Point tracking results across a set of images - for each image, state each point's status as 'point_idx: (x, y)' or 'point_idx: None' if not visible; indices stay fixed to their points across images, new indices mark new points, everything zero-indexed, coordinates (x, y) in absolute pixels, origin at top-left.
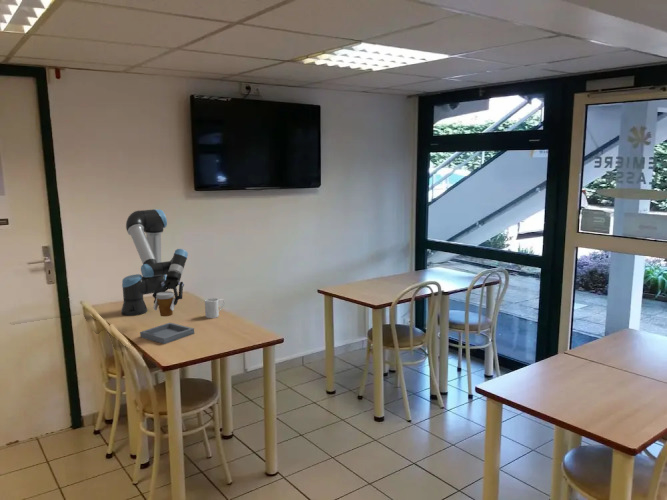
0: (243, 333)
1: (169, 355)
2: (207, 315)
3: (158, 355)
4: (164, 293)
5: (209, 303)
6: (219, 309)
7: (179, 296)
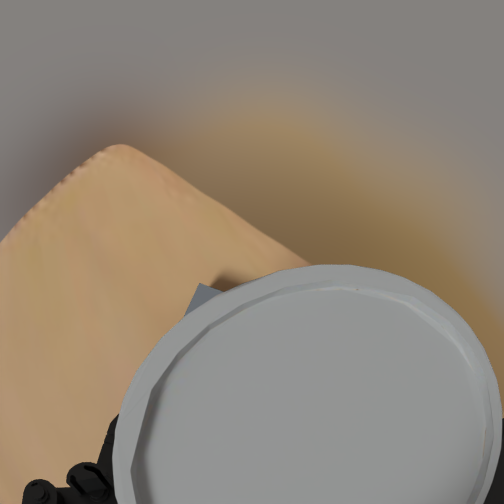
0: None
1: (130, 193)
2: None
3: (169, 185)
4: (383, 499)
5: None
6: None
7: (41, 486)
